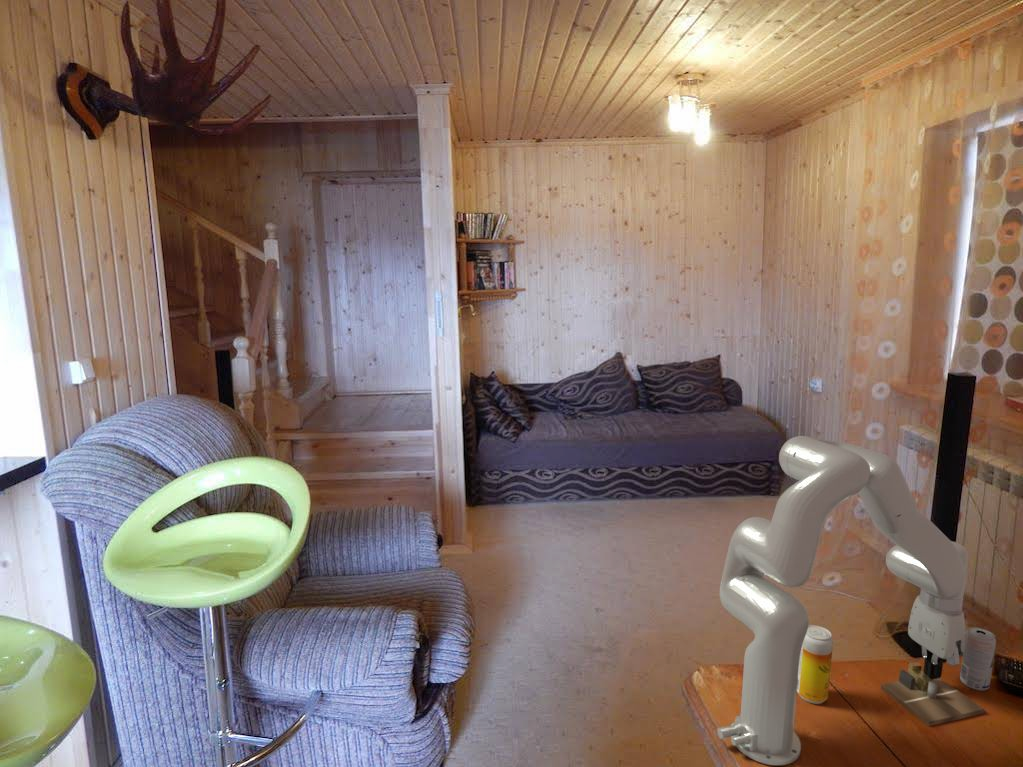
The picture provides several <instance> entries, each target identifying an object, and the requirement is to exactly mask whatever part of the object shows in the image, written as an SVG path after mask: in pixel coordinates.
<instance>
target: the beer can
mask: <svg viewBox="0 0 1023 767" xmlns="http://www.w3.org/2000/svg"><path fill="white" fill-rule="evenodd" d="M833 648H834V638H833V636H832V632H830V630H829V629H827V628H825V627H823V626H819V625H815V624H809V625H808V629H807V633H806V636H805V638H804V641H803V645H802V648H801V653H800V659H799V668H798V681H797V694H798V695H799V697H800V698H801V699H803V701H805V702H807V703H810V704H814V705H820V704H823V703H824V702H826V701H827V700H828V698H829V690H830V689H829V688H830V680H831V668H832V658H833V657H832V656H833Z"/></svg>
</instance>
